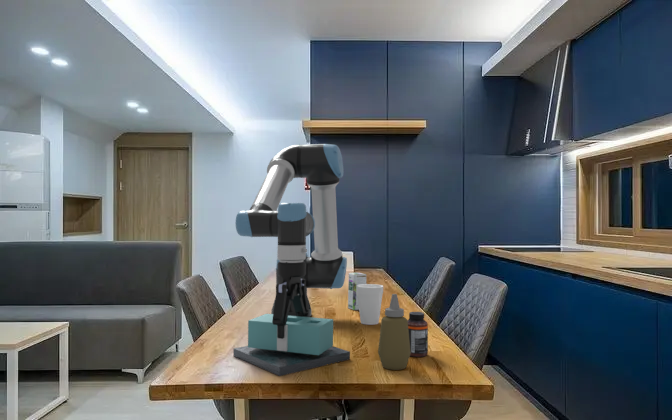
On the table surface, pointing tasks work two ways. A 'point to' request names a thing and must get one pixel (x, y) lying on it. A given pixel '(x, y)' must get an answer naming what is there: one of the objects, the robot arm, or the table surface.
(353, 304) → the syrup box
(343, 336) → the table surface
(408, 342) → the squeeze bottle
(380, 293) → the foam cup
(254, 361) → the base
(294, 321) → the teal block with holes
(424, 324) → the supplement bottle
